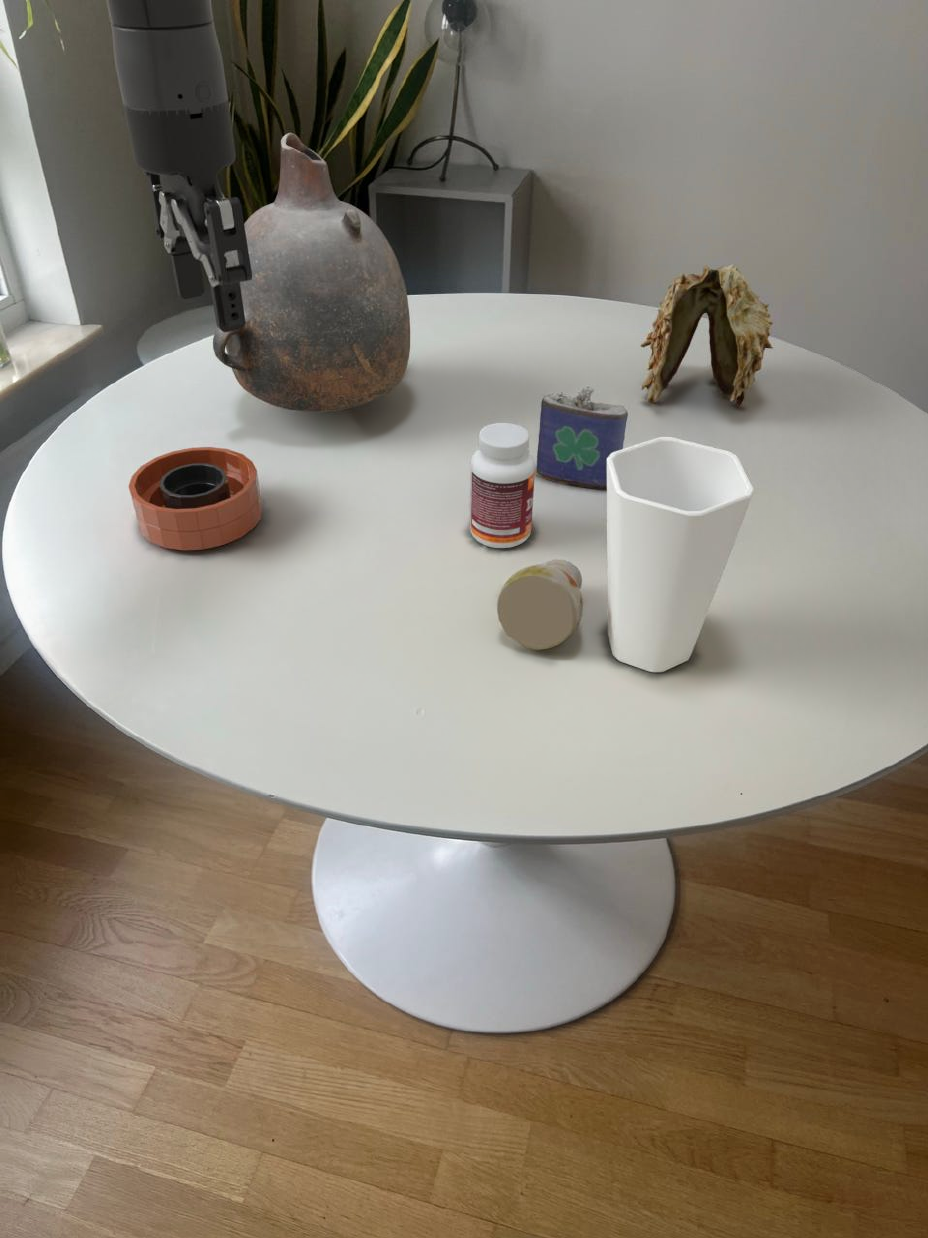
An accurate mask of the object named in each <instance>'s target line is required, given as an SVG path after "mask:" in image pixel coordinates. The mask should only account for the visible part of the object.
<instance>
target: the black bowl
mask: <svg viewBox="0 0 928 1238" xmlns="http://www.w3.org/2000/svg"><path fill="white" fill-rule="evenodd" d="M159 484H160V489H161V493H162V497H163V501H164V506H165V508H172V509H190V508H199V507H204V506H208V505H213V504H216V503H219V502H221V501H224V500H226V499H228V498H231V496H230V490H229V484H228V479H227V475H226V473H225V471H224V470H223V469H221V468H220V467H218V466H216V465H211V464H207V463H194V464H188V465H183V466H180V467H177V468H175V469H172V470H170V471H169V472H168V473H166V474H165V475H164V476H163V477H162V479H161V481H160V483H159Z"/></svg>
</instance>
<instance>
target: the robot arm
mask: <svg viewBox="0 0 928 1238" xmlns="http://www.w3.org/2000/svg"><path fill="white" fill-rule="evenodd" d="M105 1H106V6H107V11H108V16H109V21H110V23H111V24H110V27H111V33H112V46H113V57H114V65H115V71H116V75H117V80H118V85H119V90H120V91H119V92H120V95H121V96H120V97H121V100H122V106H123V111H124V114H125V115H124V116H125V122H126V126H127V131H128V135H129V136H128V137H129V141H130V145H131V150H132V156H133V160H134V161H133V162H134V164H135V165H136V166H137V168H139V169H140V170H142V171H143V172H144V175H145V179H146V184H147V191H148V196H149V202H150V208H151V214H152V219H153V223H154V224H153V225H154V233H155V235H156V236H157V238H158V239H159V240H163V246H164V248H165V250H166V252H167V253H168V254H170V255H169V256H170V260H171V265H172V271H173V276H174V281H175V288H176V292H177V295H178V296H179V297H180V298H182V299H183V300H189V299H194V298H197V297H201V296H203V295H204V294H205V291H206V290H205V284H204V277H203V271H202V266H201V263H202V265H203V268H204V270H205V273H206V276H207V278H208V279H207V280H208V282H209V288H210V293H211V298H212V305H213V311H214V312H213V313H214V317H215V323H216V326H217V327H218V328H219V329H220V330H221V331H223V332H229V331H234V330H238V329H242V328H243V327H244V326H245V315H244V308H243V301H242V294H241V288H240V282H243V281H249V280H252V270H251V264H250V258H249V251H248V245H247V239H246V233H245V226H244V224H245V221H244V214H243V207H242V202H241V200H240V199H239V198H238V197H237V196H235V197H228V198H227V197H225V195H224V193H223V192H222V190H221V189H222V188H221V186H220V181H219V179H218V175H219V173H220V172H221V171H222V170H223V169H227V168H229V167H230V166H232V165H233V163H234V162H235V160H236V155H237V154H236V148H235V147H236V146H235V139H234V134H233V126H232V125H233V124H232V117H231V110H230V104H229V95H228V89H227V82H226V74H225V68H224V67H225V66H224V61H223V55H222V50H221V47H220V43H219V39H218V36H217V32H216V26H215V22H214V14H213V6H212V5H213V4H212V0H105ZM235 250H237V255H238V258H237V255H236V252H235ZM227 262H228V265H229V267H227V268H226V263H227ZM217 327H216V328H217Z"/></svg>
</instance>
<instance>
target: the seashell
mask: <svg viewBox="0 0 928 1238" xmlns="http://www.w3.org/2000/svg"><path fill="white" fill-rule="evenodd" d="M769 306H770V303H769V304H768V303H763V302H762V301H761V300H760V295H757V294H756V293H755V292H753V289H752V288H751V286H750V285H749V283H748V282H747V281H746V278H745V276H744V274H742V272H741V271H740V270H739V268H738V267H736V265H735V264H733V263H732V264H731V265H729V266H726V265H723V266H721V267H719V268H717V269H712V268H710V267H709V266H706V265H705V266H704V267H703V268H702V274H699V273H691V274H690V273H689V274H687V275H685V273H683V272H681V274H680V276H679V277H676V278H674V280H673V283H672V284H671V285H669V286H668V289H667V293H666V295H665V298H664V299H663V300H662V301H660V303H659V308H658V309H657V311H658V313H657V315H656V318H655V319H654V320H653V322H652V329H653V330H652V331H651V332H649V333H647V336H646V338H645V339H646V340H645V341H643V342H642V343H641V344H640V347H641V348H645V347H646V348H647V347H648V346H650V349H651V353H650V356H649V359H648V367H647V368H646V370H647V371H648V373H647V375H646V377H645V380H644V381H643V384H642V386H641V391H643V390H645V388H646V389H647V403H649V404H650V403H655V404H656V403H657V402H658V401H659V399H660V397H661V394H662V393H663V391H664V390H665V389H666V388H667V387H668V386H669V384H670V383H671V382H672V379H673V378H674V376H675V375H676V374H677V373H678V370H679V368H680V366H681V364H682V361H683V360H684V358H685V356H686V354H687V352H688V351H689V348H690V346H691V343H692V340H693V338H694V336H695V334H696V331H697V329H698V326H699V324H700V321H701V319H702V317H703V315H705V314H706V315H707V318H708V336H709V337H708V339H709V341H708V343H709V351H710V366H711V372H712V382H713V383H714V382H715V383H716V384H717V389H718V392H719V394H722V396H723V397H727V398H728V399H729V400H730V402H733V401H735V400H736V401H735V404H736V407H737V408H740V407H741V406H742V405H743V403H744V401H745V398H746V390H748V389H749V388H750V387H751V385H752V384H753V383H754V382H755V381H756V378H755V375H756V372H759V371H761V369H762V361H763V359H764V353H765V350H766V349H772V350H774V347H773V346H772V343H771V342H770V341H769V336H770V335H771V333H770V329H771V327H772V325H773V324H774V322H773V320H771V315H770V313H769V312H768V307H769Z"/></svg>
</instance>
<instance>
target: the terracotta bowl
mask: <svg viewBox="0 0 928 1238" xmlns="http://www.w3.org/2000/svg"><path fill="white" fill-rule="evenodd" d="M194 463H207V464H211V465H216V466H218V467H220V468H221V469H223V470H224V471H225V473H226V475H227V479H228V484H229V490H230V496H231V498H228V499H226V500H224V501H221V502H219V503H216V504H213V505H208V506H204V507H199V508H190V509H172V508H165V506H164V501H163V497H162V493H161V489H160V484H159V483H160V481H161V479H162V477H163V476H164V475H165V474H166V473H168V472H169V471H170V470H172V469H175V468H177V467H180V466H183V465H188V464H194ZM259 482H260V481H259V475H258V470H257V467H256V466H255V464H254V462H253V460H252V459H250V458H248V457H247V456H246V455H244V454H242V453H240V452H238V451H235V450H232V449H229V448H222V447H214V446H199V447H188V448H184V449H178V450H173V451H170V452H167V453H165V454H162V455H159V456H156V457H154V458H152V459H150V460H149V461H147V462H145V463H144V464H142V465H140V467H139V468H138V469H137V470H136V471H135V472H134V473H133V474H132V476H131V478H130V481H129V484H128V490H129V494H130V498H131V502H132V505H133V510H134V513H135V517H136V521H137V524H138V528H139V531H140V533H141V535H142V536H144V537H145V538H146V539H147V541H149V542H150V543H152V544H154V545H157V546H160V547H161V548H165V549H169V550H178V551H200V550H208V549H214V548H217V547H221V546H223V545H227V544H229V543H231V542H233V541H236V540H239V539H241V538H242V537H244V536H245V535H246V534H248V533H249V532H250V531H252V530H253V529H254V528H255V527H256V526H257V524H258V523H259V521H260V520H261V519H262V515H263V513H262V512H263V501H262V494H261V488H260V483H259Z"/></svg>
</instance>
